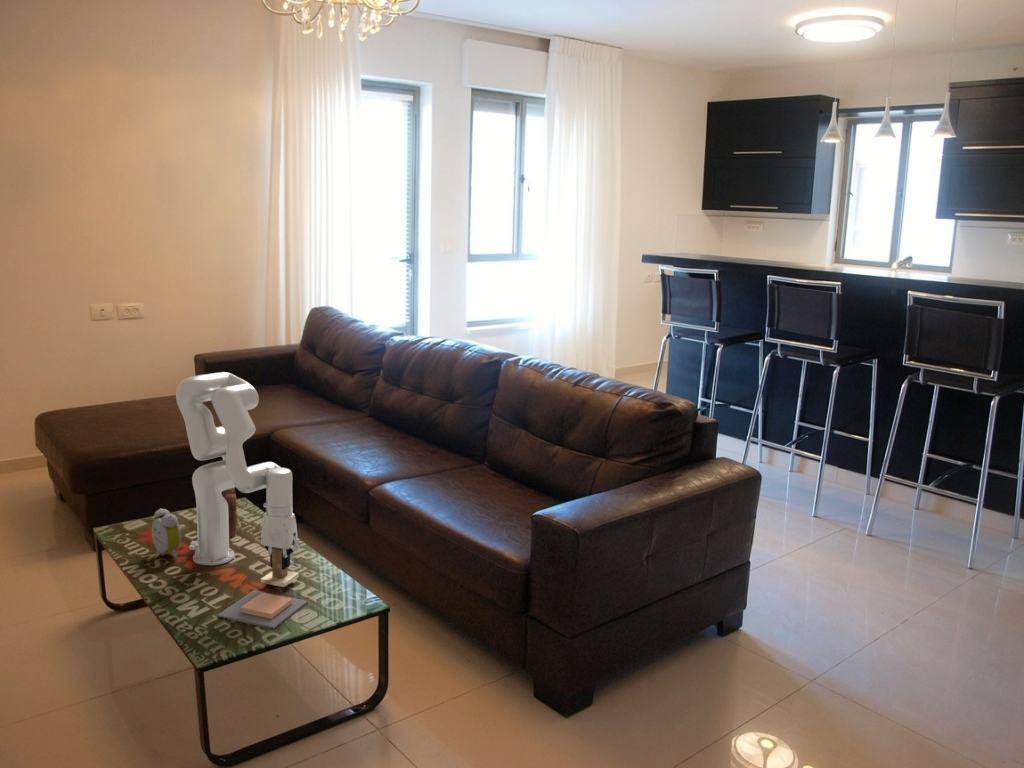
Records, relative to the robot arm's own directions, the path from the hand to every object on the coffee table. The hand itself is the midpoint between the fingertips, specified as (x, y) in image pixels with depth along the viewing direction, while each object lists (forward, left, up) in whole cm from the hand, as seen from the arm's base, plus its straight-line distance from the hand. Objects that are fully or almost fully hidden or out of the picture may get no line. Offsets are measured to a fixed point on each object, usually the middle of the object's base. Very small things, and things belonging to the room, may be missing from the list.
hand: (280, 566), depth 250 cm
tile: (+6, -16, -4) cm, 18 cm away
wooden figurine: (-40, +28, -6) cm, 49 cm away
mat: (+5, -16, -6) cm, 18 cm away
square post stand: (0, 0, -4) cm, 4 cm away
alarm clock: (-45, +3, -6) cm, 45 cm away
